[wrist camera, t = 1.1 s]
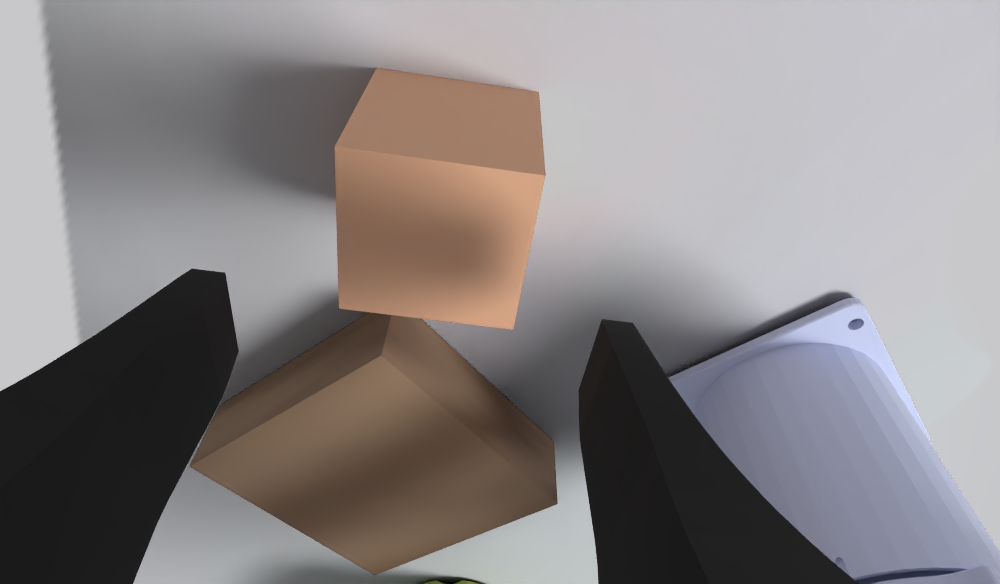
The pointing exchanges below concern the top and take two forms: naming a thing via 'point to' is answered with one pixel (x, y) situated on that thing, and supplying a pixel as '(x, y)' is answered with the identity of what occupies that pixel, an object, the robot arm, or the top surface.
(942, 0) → the top surface
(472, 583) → the plant pot
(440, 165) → the terracotta block
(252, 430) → the walnut plinth
